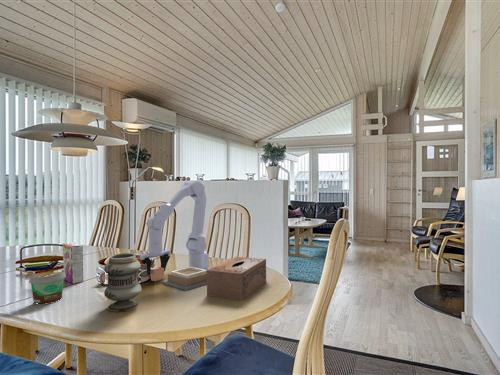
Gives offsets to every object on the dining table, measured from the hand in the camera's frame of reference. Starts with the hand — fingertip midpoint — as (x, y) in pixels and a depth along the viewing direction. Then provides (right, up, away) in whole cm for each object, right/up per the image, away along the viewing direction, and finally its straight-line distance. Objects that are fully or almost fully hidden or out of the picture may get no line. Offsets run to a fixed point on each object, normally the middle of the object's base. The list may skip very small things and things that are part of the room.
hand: (155, 272), depth 149 cm
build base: (+16, -3, -6) cm, 17 cm away
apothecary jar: (-2, -3, -34) cm, 34 cm away
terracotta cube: (0, -3, 0) cm, 3 cm away
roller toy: (-19, -3, -6) cm, 20 cm away
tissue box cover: (+38, -3, -14) cm, 41 cm away
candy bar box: (-37, -3, -1) cm, 37 cm away
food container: (-30, -4, -28) cm, 41 cm away
